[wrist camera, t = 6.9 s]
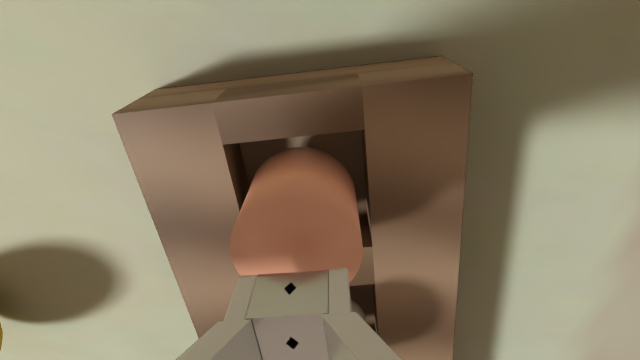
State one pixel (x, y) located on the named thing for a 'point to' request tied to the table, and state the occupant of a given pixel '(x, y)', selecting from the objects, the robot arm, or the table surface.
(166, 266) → the table surface
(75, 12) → the table surface
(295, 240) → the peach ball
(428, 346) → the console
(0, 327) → the lemon
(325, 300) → the robot arm
